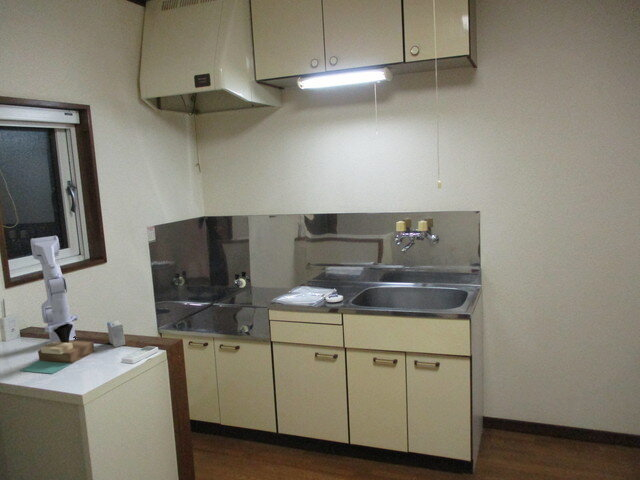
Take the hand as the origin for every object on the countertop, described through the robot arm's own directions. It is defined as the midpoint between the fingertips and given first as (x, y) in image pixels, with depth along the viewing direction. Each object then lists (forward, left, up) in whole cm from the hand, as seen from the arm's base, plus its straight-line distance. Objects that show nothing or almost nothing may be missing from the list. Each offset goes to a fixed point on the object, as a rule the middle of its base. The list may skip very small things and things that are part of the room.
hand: (65, 343), depth 199 cm
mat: (+10, 0, -5) cm, 12 cm away
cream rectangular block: (+4, 0, -1) cm, 4 cm away
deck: (0, 0, -5) cm, 5 cm away
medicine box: (-15, +11, -5) cm, 19 cm away
